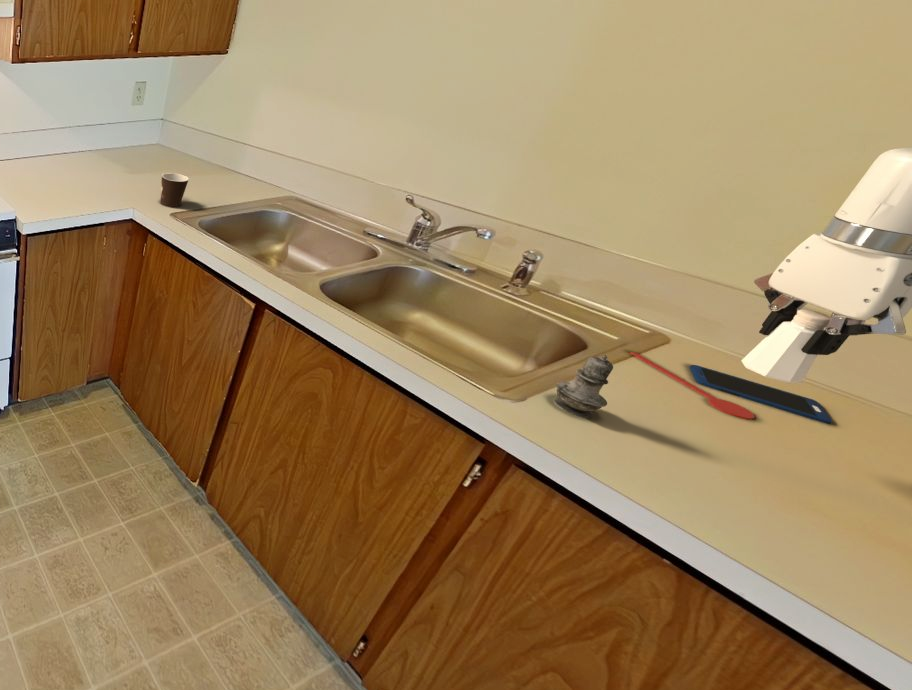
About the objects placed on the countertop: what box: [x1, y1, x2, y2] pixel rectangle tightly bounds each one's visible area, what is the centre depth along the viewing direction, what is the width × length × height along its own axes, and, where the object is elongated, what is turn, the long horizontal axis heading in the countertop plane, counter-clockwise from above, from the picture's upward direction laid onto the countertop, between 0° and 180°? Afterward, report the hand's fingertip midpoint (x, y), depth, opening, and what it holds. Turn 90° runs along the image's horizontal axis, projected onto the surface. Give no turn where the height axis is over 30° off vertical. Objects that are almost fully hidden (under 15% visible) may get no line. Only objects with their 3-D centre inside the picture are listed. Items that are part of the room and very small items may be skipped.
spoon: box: [629, 352, 755, 420], centre depth 95 cm, size 17×5×1 cm, turn 175°
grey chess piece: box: [552, 354, 614, 419], centre depth 87 cm, size 6×6×12 cm
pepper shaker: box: [740, 309, 831, 384], centre depth 77 cm, size 5×5×11 cm
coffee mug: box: [160, 172, 190, 208], centre depth 176 cm, size 12×9×10 cm
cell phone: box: [689, 364, 833, 425], centre depth 93 cm, size 7×14×1 cm, turn 44°
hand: (793, 342), depth 77 cm, fingers closed on pepper shaker, 3 cm apart
